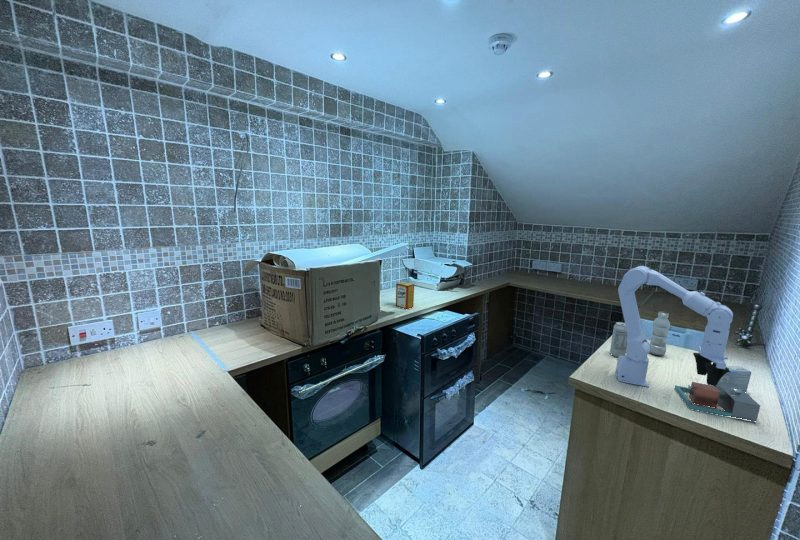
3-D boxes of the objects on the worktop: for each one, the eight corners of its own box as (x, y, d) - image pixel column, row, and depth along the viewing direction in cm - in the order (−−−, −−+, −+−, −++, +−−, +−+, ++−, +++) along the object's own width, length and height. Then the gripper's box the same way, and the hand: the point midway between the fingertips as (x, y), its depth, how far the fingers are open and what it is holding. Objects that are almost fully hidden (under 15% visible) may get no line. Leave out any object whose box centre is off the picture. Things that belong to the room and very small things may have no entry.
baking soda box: (413, 307, 213) (414, 283, 210) (406, 309, 208) (407, 285, 206) (402, 304, 219) (402, 281, 217) (395, 306, 215) (396, 282, 212)
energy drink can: (624, 354, 151) (629, 323, 148) (625, 359, 146) (631, 327, 143) (609, 351, 154) (614, 320, 151) (609, 356, 149) (614, 324, 146)
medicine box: (734, 386, 125) (739, 365, 123) (746, 393, 121) (752, 371, 119) (714, 386, 125) (718, 365, 123) (726, 393, 120) (731, 371, 119)
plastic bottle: (649, 355, 151) (656, 313, 147) (646, 350, 157) (653, 309, 153) (666, 358, 148) (674, 316, 144) (663, 353, 154) (670, 312, 150)
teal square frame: (689, 409, 109) (693, 389, 108) (674, 389, 122) (677, 371, 121) (755, 423, 103) (761, 402, 102) (732, 400, 116) (736, 381, 114)
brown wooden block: (688, 402, 113) (691, 386, 112) (683, 396, 117) (686, 380, 116) (716, 408, 110) (720, 392, 109) (710, 401, 114) (713, 385, 113)
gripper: (742, 352, 101) (732, 392, 104) (719, 336, 115) (711, 372, 117) (712, 348, 104) (704, 387, 107) (693, 333, 117) (686, 368, 120)
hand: (706, 379), depth 112 cm, fingers open, 7 cm apart
